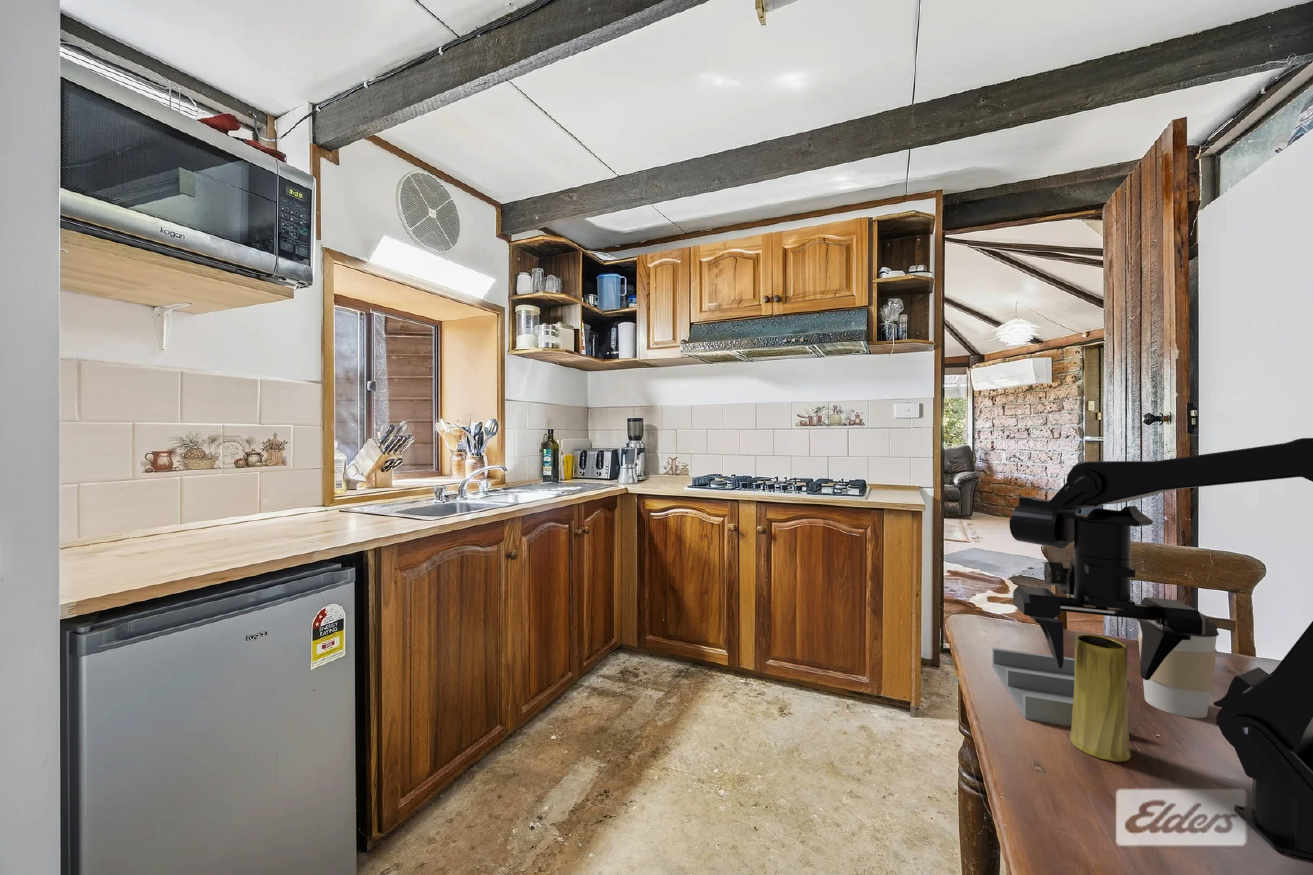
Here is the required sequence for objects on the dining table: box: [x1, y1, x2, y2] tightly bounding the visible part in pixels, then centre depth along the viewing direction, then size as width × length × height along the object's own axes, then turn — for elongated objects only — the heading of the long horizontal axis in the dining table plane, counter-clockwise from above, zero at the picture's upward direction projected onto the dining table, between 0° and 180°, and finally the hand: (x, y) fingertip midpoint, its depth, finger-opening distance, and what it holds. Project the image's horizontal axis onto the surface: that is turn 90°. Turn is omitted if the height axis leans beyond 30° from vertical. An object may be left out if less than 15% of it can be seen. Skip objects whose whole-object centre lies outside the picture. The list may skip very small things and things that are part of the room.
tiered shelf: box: [991, 647, 1075, 727], centre depth 83 cm, size 19×12×3 cm, turn 159°
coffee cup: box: [1135, 613, 1220, 719], centre depth 80 cm, size 9×9×15 cm
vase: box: [1069, 633, 1132, 763], centre depth 69 cm, size 6×6×14 cm
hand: (1101, 672), depth 69 cm, fingers open, 9 cm apart
